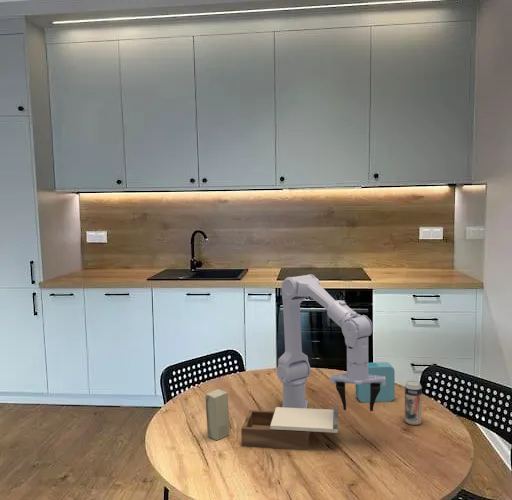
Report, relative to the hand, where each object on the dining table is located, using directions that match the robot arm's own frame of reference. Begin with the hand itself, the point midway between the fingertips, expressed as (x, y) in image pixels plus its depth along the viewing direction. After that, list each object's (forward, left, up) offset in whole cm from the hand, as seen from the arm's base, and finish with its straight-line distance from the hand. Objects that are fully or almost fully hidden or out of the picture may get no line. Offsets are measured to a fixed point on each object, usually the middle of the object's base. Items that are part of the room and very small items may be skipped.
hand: (358, 409), depth 132 cm
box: (+1, -40, -10) cm, 41 cm away
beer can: (-14, +16, -10) cm, 24 cm away
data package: (-30, +6, -10) cm, 32 cm away
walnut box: (0, -23, -9) cm, 24 cm away
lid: (0, -15, -4) cm, 15 cm away
